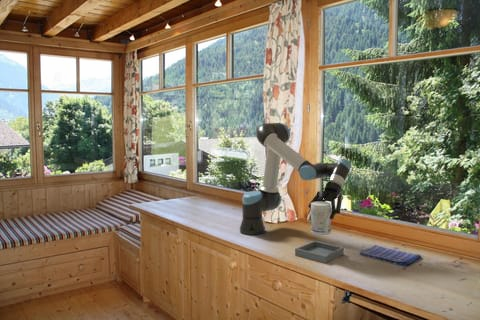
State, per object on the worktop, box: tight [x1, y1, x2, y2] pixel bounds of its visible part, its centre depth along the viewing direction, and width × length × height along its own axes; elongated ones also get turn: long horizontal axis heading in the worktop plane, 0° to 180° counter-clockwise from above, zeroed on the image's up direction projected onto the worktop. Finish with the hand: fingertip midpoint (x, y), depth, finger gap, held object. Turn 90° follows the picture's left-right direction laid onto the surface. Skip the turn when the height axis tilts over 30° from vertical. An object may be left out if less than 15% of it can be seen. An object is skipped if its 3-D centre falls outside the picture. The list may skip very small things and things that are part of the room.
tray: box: [294, 240, 345, 264], centre depth 193 cm, size 17×17×3 cm
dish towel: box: [359, 244, 422, 268], centre depth 189 cm, size 17×24×3 cm
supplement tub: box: [310, 201, 332, 236], centre depth 190 cm, size 10×10×15 cm
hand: (317, 222), depth 188 cm, fingers closed on supplement tub, 9 cm apart
